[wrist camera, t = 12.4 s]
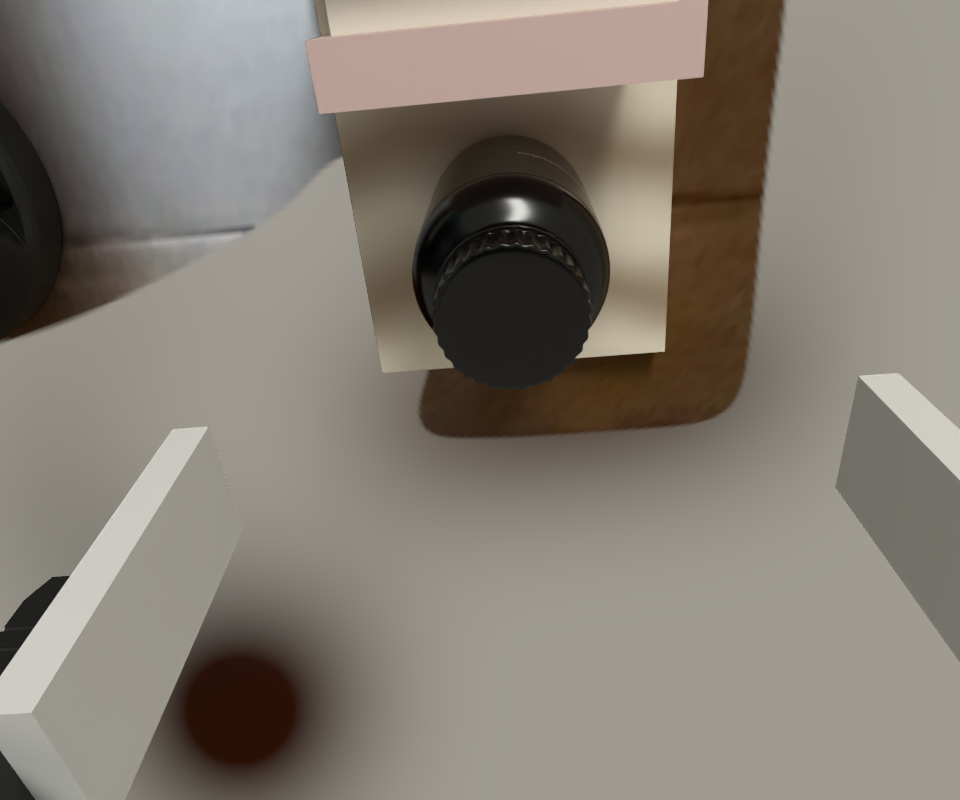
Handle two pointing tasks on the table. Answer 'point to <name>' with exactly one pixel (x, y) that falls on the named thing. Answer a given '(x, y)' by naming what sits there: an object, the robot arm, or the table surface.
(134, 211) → the table surface
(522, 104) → the shelf board
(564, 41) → the book row
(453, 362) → the supplement bottle
